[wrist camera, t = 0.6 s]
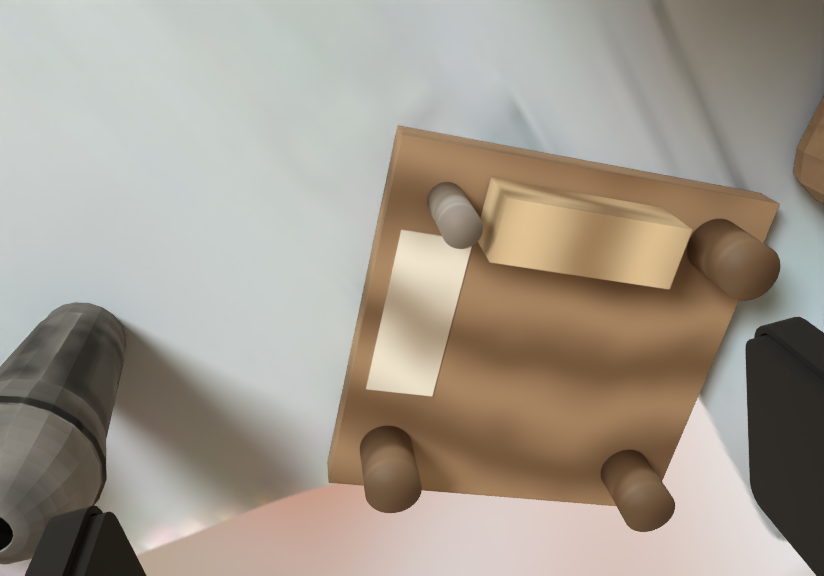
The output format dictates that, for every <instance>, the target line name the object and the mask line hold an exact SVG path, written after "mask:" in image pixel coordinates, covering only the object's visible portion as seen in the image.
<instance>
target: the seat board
mask: <svg viewBox="0 0 824 576" xmlns="http://www.w3.org/2000/svg"><path fill="white" fill-rule="evenodd" d="M491 178H497V179H503V180H508V181H514V182H520V183H525V184H531V185H537V186H542V187H548V188H554V189H559V190H565V191H571V192H576V193H582V194H588V195H594V196H599V197H605V198H611V199H616V200H622V201H628V202H633V203H639V204H645V205H650V206H656V207H662V208H664V209H666V210H667V211H668V212H670V213H671V214H672V215H674V216H675V217H676V218H678V219H679V220H680V221H682V222H683V223H684V224H686V225H687V226H688V227H690V228H691V229H692V232H691V235H690V237H689V240H688V242H687V245H686V248H685V250H684V253H683V255H682V258H681V261H680V263H679V266H678V269H677V271H676V274H675V276H674V279H673V282H672V284H671V287H670V289H663V288H656V287H650V286H643V285H636V284H630V283H623V282H617V281H610V280H603V279H597V278H590V277H583V276H577V275H570V274H563V273H557V272H550V271H544V270H537V269H530V268H524V267H517V266H510V265H504V264H497V263H491V262H489V260H488V258H487V257H486V255H485V253H484V252H483V250H482V248H481V247H480V245H479V243H478V240H479V239H480V237H481V235H482V232H483V224H482V221H481V219H480V218H481V214H482V210H483V206H484V203H485V199H486V195H487V191H488V188H489V184H490V180H491ZM779 205H780V204H779V203H777V202H775V201H774V200H772V199H770V198H768V197H766V196H765V195H763V194H761V193H757V192H752V191H746V190H741V189H736V188H730V187H725V186H720V185H714V184H709V183H704V182H698V181H693V180H687V179H682V178H677V177H671V176H666V175H661V174H655V173H650V172H644V171H639V170H634V169H628V168H623V167H618V166H612V165H607V164H602V163H596V162H591V161H585V160H580V159H575V158H569V157H564V156H559V155H553V154H548V153H543V152H537V151H532V150H526V149H521V148H516V147H510V146H505V145H500V144H494V143H489V142H484V141H478V140H473V139H467V138H462V137H457V136H451V135H446V134H441V133H435V132H430V131H424V130H419V129H414V128H408V127H403V126H397V131H396V136H395V141H394V145H393V150H392V155H391V160H390V165H389V169H388V174H387V179H386V184H385V189H384V193H383V198H382V203H381V208H380V213H379V217H378V222H377V227H376V232H375V237H374V241H373V246H372V251H371V256H370V261H369V265H368V270H367V275H366V280H365V285H364V289H363V294H362V299H361V304H360V309H359V314H358V318H357V323H356V328H355V333H354V338H353V342H352V347H351V352H350V357H349V362H348V366H347V371H346V376H345V381H344V386H343V390H342V395H341V400H340V405H339V410H338V414H337V419H336V424H335V429H334V434H333V438H332V443H331V448H330V453H329V458H328V478H329V483H340V484H353V485H364V489H365V496H366V500H367V502H368V503H369V504H370V505H371V506H372V507H373V508H374V509H376V510H378V511H380V512H384V513H396V512H401V511H403V510H406V509H408V508H410V507H411V506H412V505H413V504H414V503H415V502H416V501H417V500H418V498H419V497H420V494H421V490H426V491H438V492H451V493H462V494H475V495H487V496H500V497H512V498H524V499H536V500H548V501H560V502H573V503H586V504H597V505H609V506H617V508H618V509H619V511H620V513H621V515H622V517H623V518H624V520H625V522H626V524H627V525H628V526H629V527H630V528H631V529H633V530H635V531H639V532H648V531H652V530H655V529H657V528H659V527H661V526H663V525H664V524H665V523H667V522H668V521H669V519H670V518H671V517H672V515H673V513H674V510H675V502H674V499H673V498H672V496H671V495H670V493H669V492H668V490H667V489H666V487H665V486H664V484H663V483H662V480H663V478H664V475H665V473H666V471H667V468H668V466H669V463H670V461H671V459H672V456H673V454H674V452H675V449H676V447H677V445H678V442H679V440H680V438H681V435H682V433H683V430H684V428H685V426H686V424H687V421H688V419H689V416H690V414H691V412H692V409H693V407H694V405H695V402H696V400H697V398H698V395H699V393H700V391H701V388H702V386H703V384H704V381H705V379H706V377H707V374H708V372H709V369H710V367H711V365H712V362H713V360H714V358H715V355H716V353H717V351H718V348H719V346H720V344H721V341H722V339H723V337H724V334H725V332H726V330H727V327H728V325H729V322H730V320H731V318H732V315H733V313H734V311H735V308H736V306H737V304H738V301H739V300H742V301H745V300H752V299H755V298H757V297H759V296H761V295H763V294H764V293H766V292H767V291H768V290H769V289H770V288H771V287H772V286H773V284H774V283H775V281H776V280H777V278H778V275H779V272H780V260H779V257H778V255H777V253H776V252H775V251H774V250H773V249H772V248H770V247H769V246H767V245H766V244H764V240H765V238H766V235H767V233H768V231H769V228H770V226H771V224H772V221H773V219H774V217H775V214H776V212H777V210H778V207H779Z"/></svg>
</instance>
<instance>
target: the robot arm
mask: <svg viewBox="0 0 824 576" xmlns="http://www.w3.org/2000/svg"><path fill="white" fill-rule="evenodd" d="M746 378H747V408H748V438H749V468H750V485H751V489H752V493H753V495H754V498H755V500H756V501H757V503H758V505H759V506H760V508H761V509H762V510H763V512H764V513H765V514H766V515H767V516H768V518H769V519H770V520H771V521H772V522H773V524H774V525H775V526H776V527H777V528H778V530H779V531H780V532H781V533H782V534H783V536H784V537H785V538H786V539H787V541H788V542H789V543H790V544H791V545H792V547H793V548H794V549H795V550H796V551H797V553H798V554H799V555H800V556H801V557H802V558H803V560H804V561H805V562H806V563H807V565H808V566H809V567H810V568H811V570H812V571H813V572H814V573H815V574H816V576H824V333H823V332H822V331H820V330H819V329H818V328H816V327H815V326H813V325H812V324H811V323H809V322H808V321H807V320H805V319H803V318H801V317H793V318H790V319H786V320H782V321H778V322H775V323H771V324H767V325H763V326H760V327H759V328H758V329H757V330H756V332H755V338H754V339H750V340H749V341H747V344H746ZM25 576H146V574H145V572H144V570H143V568H142V566H141V564H140V562H139V560H138V558H137V556H136V554H135V552H134V550H133V548H132V546H131V545H130V543H129V541H128V539H127V537H126V535H125V533H124V531H123V529H122V527H121V525H120V523H119V521H118V519H117V517H116V516H115V515H114V514H113V513H112V512H106V513H103V512H102V511H101V510H100V509H99V508H98V507H97V506H89V507H85V508H81V509H77V510H74V511H70V512H66V513H62V514H59V515H55V516H53V517H52V518H50V520H49V521H48V523H47V525H46V528H45V530H44V532H43V534H42V537H41V539H40V541H39V544H38V546H37V548H36V551H35V553H34V555H33V558H32V560H31V562H30V565H29V567H28V569H27V571H26V574H25Z"/></svg>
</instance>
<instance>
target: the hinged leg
mask: <svg viewBox="0 0 824 576" xmlns="http://www.w3.org/2000/svg"><path fill="white" fill-rule="evenodd" d="M480 219H481V221H482V224H483V232H482V235H481V237H480V239H479V240H478V243H479V245H480V247H481V248H482V250H483V252H484V253H485V255H486V257H487V258H488V260H489V262H491V263H497V264H504V265H510V266H517V267H524V268H530V269H537V270H544V271H550V272H557V273H563V274H570V275H577V276H583V277H590V278H597V279H603V280H610V281H617V282H623V283H630V284H636V285H643V286H650V287H656V288H663V289H670V287H671V284H672V282H673V279H674V276H675V274H676V271H677V269H678V266H679V263H680V261H681V258H682V255H683V253H684V250H685V248H686V245H687V242H688V240H689V237H690V235H691V232H692V229H691V228H690V227H688V226H687V225H686V224H684V223H683V222H682V221H680V220H679V219H678V218H676V217H675V216H674V215H672V214H671V213H670V212H668V211H667V210H666V209H664V208H662V207H656V206H650V205H645V204H639V203H633V202H628V201H622V200H616V199H611V198H605V197H599V196H594V195H588V194H582V193H576V192H571V191H565V190H559V189H554V188H548V187H542V186H537V185H531V184H525V183H520V182H514V181H508V180H503V179H497V178H491V180H490V184H489V188H488V191H487V195H486V199H485V203H484V206H483V210H482V214H481V218H480Z"/></svg>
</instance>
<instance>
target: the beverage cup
mask: <svg viewBox="0 0 824 576" xmlns="http://www.w3.org/2000/svg"><path fill="white" fill-rule="evenodd" d="M125 346H126V342H125V333H124V330H123V328H122V325H121V324H120V322H119V321H118V320H117V319H116V318H115V317H114V315H113V314H111V313H109V312H108V311H106V310H105V309H103V308H102V307H99V306H96V305H93V304H90V303H71V304H67V305H62V306H61V307H59V308H57V309H55V310H54V311H52V312H51V313H50V314H49V316H48V317H47V318H46V319H45V320H43V321H42V322H40V323H39V324H38V326H37V327H36V328H35V329H34V330H33V331H32V332H31V333H30V334H29V336H28V337H27V338H26V339H25V340H24V341H23V342H22V343H21V344H20V345H19V347H18V348H17V349H16V350H15V351H14V352H13V353H12V354H11V355H10V357H9V358H8V359H7V360H6V361H5V362H4V363H3V364H2V365H1V367H0V564H10V563H14V562H19V561H23V560H27V559H31V558H33V555H34V553H35V551H36V548H37V546H38V544H39V541H40V539H41V537H42V534H43V532H44V530H45V528H46V525H47V523H48V521H49V520H50V518H52V517H53V516H55V515H59V514H62V513H66V512H70V511H74V510H77V509H81V508H85V507H89V506H93V505H94V504H95V503H96V502H97V501H98V499H99V497H100V495H101V492H102V490H103V487H104V485H105V482H106V480H107V478H106V438H107V434H108V429H109V424H110V420H111V415H112V411H113V406H114V402H115V397H116V393H117V388H118V384H119V379H120V375H121V370H122V366H123V361H124V349H125Z"/></svg>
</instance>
